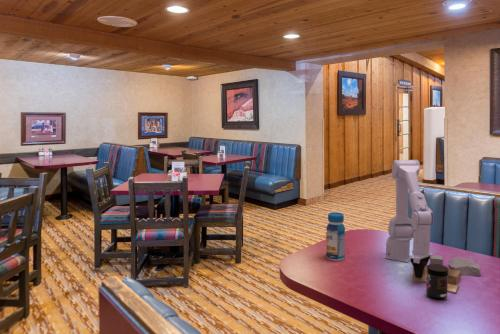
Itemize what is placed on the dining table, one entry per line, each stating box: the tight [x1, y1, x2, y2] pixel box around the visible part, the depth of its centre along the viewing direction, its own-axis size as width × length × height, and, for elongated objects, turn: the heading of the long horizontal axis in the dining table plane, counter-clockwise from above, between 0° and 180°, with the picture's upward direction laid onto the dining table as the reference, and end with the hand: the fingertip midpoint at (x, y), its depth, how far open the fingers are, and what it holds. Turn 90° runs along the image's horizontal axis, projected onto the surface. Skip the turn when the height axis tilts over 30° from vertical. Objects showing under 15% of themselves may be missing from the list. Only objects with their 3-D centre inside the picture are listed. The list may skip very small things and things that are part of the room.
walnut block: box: [448, 267, 462, 286], centre depth 146 cm, size 7×7×4 cm
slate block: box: [428, 254, 444, 266], centre depth 156 cm, size 4×4×5 cm
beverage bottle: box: [325, 212, 346, 262], centre depth 170 cm, size 8×8×20 cm
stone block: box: [448, 257, 481, 277], centre depth 155 cm, size 12×5×10 cm
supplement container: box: [425, 264, 450, 301], centre depth 132 cm, size 7×7×10 cm
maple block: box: [412, 265, 427, 283], centre depth 147 cm, size 4×4×5 cm
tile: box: [447, 284, 460, 295], centre depth 139 cm, size 7×7×1 cm
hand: (420, 275), depth 147 cm, fingers closed on maple block, 4 cm apart
